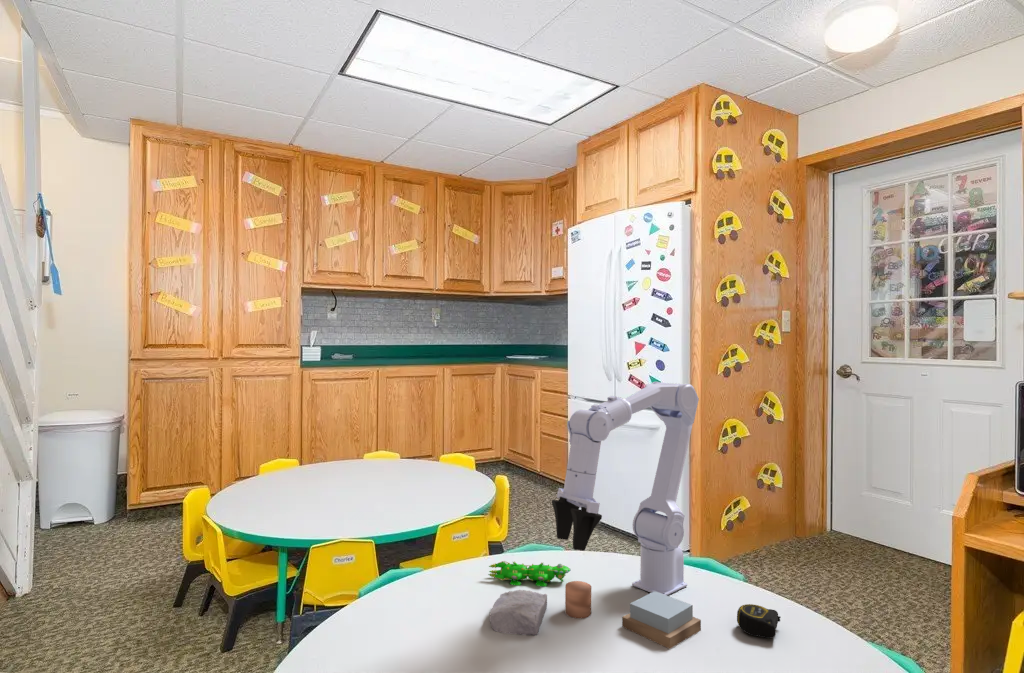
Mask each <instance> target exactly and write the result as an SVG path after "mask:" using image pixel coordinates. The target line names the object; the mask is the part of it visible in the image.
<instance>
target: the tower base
mask: <svg viewBox="0 0 1024 673" xmlns="http://www.w3.org/2000/svg"><path fill="white" fill-rule="evenodd" d="M621 623H622V624H621V625H622V626H621V627H622V628H623V629H626V630H627V631H630V632H633V633H635V634H637V635H639V636H641V637H644V638H646V639H648V640H650V641H652V642H654V643H657V645H661V646H662V647H665V648H667V649H672V648H674V647H676V646H677V645H679V644H681V643H682V642H684V641H685V640H688V638H691V637H692V636H694V635H696V634H697V633H699V632H700V631H702V626H701V625H702V619H700V618H698V617H695V616H693V619H692V620H690V621H688V622H687V623H685V624H684V625H682V626H680V627H679V628H677V629H675V630H674V631H672V632H670V633H669V634H668V633H666V632H663V631H661V630H659V629H656V628H654V627H652V626H649V625H647V624H645V623H642V622H640V621H638V620H635V619H633V618H631V617H630V612H629V613H627V614H625V615H623V616H622V618H621Z"/></svg>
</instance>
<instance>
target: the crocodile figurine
mask: <svg viewBox="0 0 1024 673" xmlns="http://www.w3.org/2000/svg"><path fill="white" fill-rule="evenodd" d="M488 567H489V568H492V569H493V568H494V569H493V570H492V569H491V570H489V571H488V572H489V573H488V576H489V577H491V578H493V579H498V580H500V581H506V580H507V581H509V580H510V583H509V585H512V586H514V587H515V586H517V587H518V586H521V585H522V581H524V580H530V581H531V582H534V581H536V582H535V586H538V587H547V586H548V583H551V581H553V579H554V578H556V579H558V580H559V581H560V582H562V583H563V582H564V578H565V576H566V574H568V573H569V572H571V568H569V567H568V566H567V565H563V563H558V564H557V565H554V566H552V565H550V564H547V565H545V563H544V562H541V563H540V564H534V563H532V564H531V565H530V564H528V565H527V564H524V563H521V564H519V563H517V562H516V561H512V563H510V562H507V561H506V560H503V561H500V562H497V563H496V562H495V563H492V564H490V565H488ZM497 568H500V569H498V570H497Z"/></svg>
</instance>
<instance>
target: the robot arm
mask: <svg viewBox="0 0 1024 673" xmlns="http://www.w3.org/2000/svg"><path fill="white" fill-rule="evenodd" d="M699 401H700V400H699V396H698V393H697V391H696V389H695V386H693V385H692V384H690V383H677V382H676V383H674V382H672V383H671V382H660V381H653V382H651V383H647V384H646V385H645V387H643V388H641V389H639V390H638V391H636V392H635V393H633V394H631V395H629V396H627V397H624V398H622V397H620V396H617V395H610V396H608V397H607V400H606V401H603V402H601V403H599V404H598V403H597V404H596V403H594V404H591V406H590V408H588V409H578V410H576V411H574V413H572V415H571V416H570V418H569V420H567V423H566V424H567V431H568V433H569V439H568V440H569V446H570V447H569V454H568V460H567V465H566V471H565V472H566V473H565V480H564V486H563V488H561V487H558V489H557V495H556V498H558V500H557V499H552V500H551V505H552V507H553V510H554V515H555V529H556V538H557V539H558V540H564V541H565V540H566V541H567V540H569V537H570V535H571V532H572V531H571V530H572V529H573V533H572V548H573V550H576V551H586V548H587V545H588V543H589V541H590V538H591V536H592V533H593V531H594V530H595V529H596V527H597V525H598V524H599V522H600V521H602V517H603V515H602V514H600V513H599V511H600V505H601V504H600V502H598V501H597V500H596V499H595V498H594V492H595V491H594V490H595V485H596V478H597V472H598V464H599V458H600V452H601V445H602V441H603V442H604V441H605V440H606V439H607V438H608V437H609V434H610V433H611V431H613V430H615V429H618V428H620V427H622V426H623V425H625V424H628V423H629V422H630V421H631V419H632V415H633V414H636V413H639V412H641V411H643V410H645V409H648V408H650V409H651V410H652V412H654V414H655V415H656V416H657V417H658V419H660V420H661V421H662V422H663V423H664V426H665V432H664V436H663V439H662V440H663V441H662V445H661V451H660V454H659V457H658V463H657V468H656V472H655V476H654V481H653V485H652V489H651V494H650V496H649V497H647V498H645V499H644V500H642V501H641V502H640V503H639V507H638V510H637V512H636V513H635V515H634V516H633V519H632V530H633V533H634V535H635V536H636V537H637V543H639V544H640V569H639V570H640V579H638V580H636V581H633V582H631V586H632V587H635V588H637V589H640V590H643V591H646V592H649V594H650V593H652V592H654V591H656V592H659V593H661V594H664V595H667V596H670V594H673V593H675V592H677V591H679V590H681V589H684V588H685V587H687V586H688V583H687V582H684V580H685V579H684V576H685V575H684V573H685V572H684V571H685V570H684V569H685V567H684V566H685V565H684V564H685V562H684V559H685V557H684V556H685V555H684V552H683V549H682V548H681V546H680V545H681V544H682V542H683V539H684V536H685V529H684V521H685V514H684V513H683V511H682V510H681V508H680V507H679V506H678V504H677V499H678V498H677V497H678V494H679V491H680V484H681V480H682V476H683V470H684V466H685V461H686V456H687V452H688V448H689V445H690V438H691V435H692V434H691V433H692V430H693V424H694V422H695V419H696V416H697V415H696V414H697V409H698V405H699ZM657 512H661V513H663V514H665V515H663V514H661V513H657Z"/></svg>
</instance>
